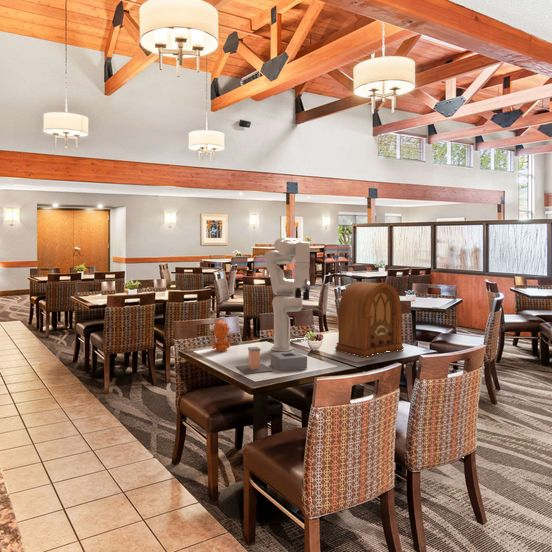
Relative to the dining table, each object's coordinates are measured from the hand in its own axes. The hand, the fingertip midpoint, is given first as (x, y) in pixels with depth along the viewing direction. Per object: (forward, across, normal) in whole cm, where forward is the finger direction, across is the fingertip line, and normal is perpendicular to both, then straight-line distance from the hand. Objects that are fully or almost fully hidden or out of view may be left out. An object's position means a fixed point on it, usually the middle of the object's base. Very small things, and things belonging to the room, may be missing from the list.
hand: (302, 298), depth 248 cm
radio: (+34, -12, +49) cm, 61 cm away
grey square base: (+33, +6, -10) cm, 35 cm away
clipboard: (+34, -62, +17) cm, 73 cm away
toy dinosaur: (+34, -42, -32) cm, 63 cm away
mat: (+33, +5, -28) cm, 44 cm away
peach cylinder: (+33, +5, -28) cm, 43 cm away
